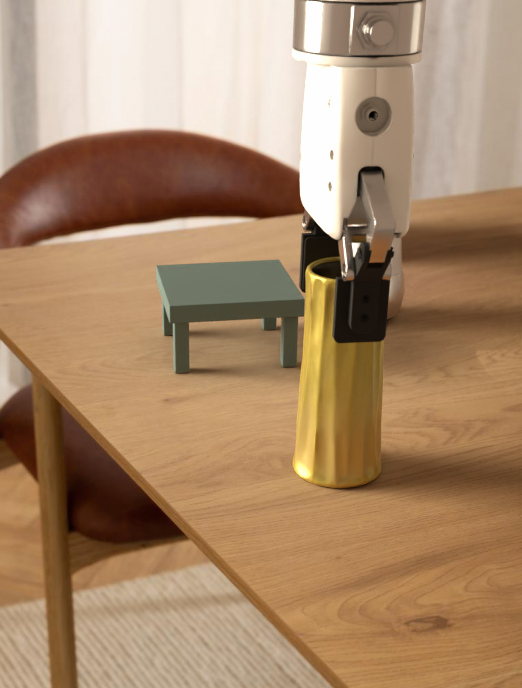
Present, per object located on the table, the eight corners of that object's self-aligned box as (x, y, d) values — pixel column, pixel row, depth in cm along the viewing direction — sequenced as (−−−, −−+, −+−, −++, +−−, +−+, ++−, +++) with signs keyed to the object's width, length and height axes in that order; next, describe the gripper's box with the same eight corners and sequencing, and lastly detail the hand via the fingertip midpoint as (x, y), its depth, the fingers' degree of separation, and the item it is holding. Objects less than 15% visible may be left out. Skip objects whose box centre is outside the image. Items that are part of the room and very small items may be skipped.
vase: (347, 443, 85) (359, 249, 79) (399, 476, 81) (415, 274, 74) (275, 461, 83) (281, 263, 76) (324, 497, 78) (334, 289, 71)
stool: (277, 323, 108) (279, 259, 105) (302, 368, 98) (305, 298, 95) (157, 329, 107) (155, 265, 104) (170, 375, 97) (169, 305, 94)
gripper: (470, 51, 61) (437, 360, 69) (381, 16, 77) (362, 273, 84) (328, 52, 60) (311, 366, 68) (267, 17, 76) (258, 276, 83)
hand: (339, 314), depth 76 cm, fingers open, 9 cm apart
